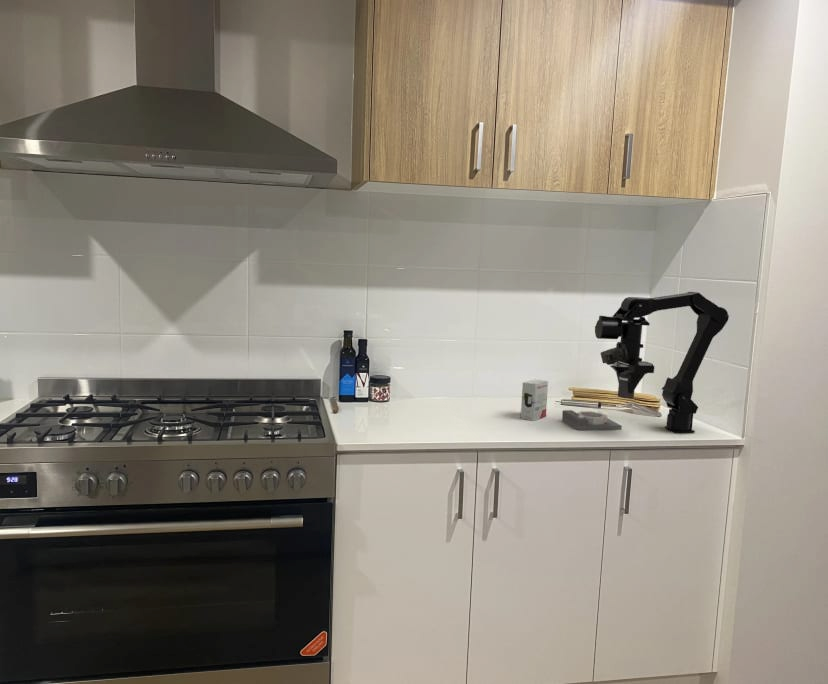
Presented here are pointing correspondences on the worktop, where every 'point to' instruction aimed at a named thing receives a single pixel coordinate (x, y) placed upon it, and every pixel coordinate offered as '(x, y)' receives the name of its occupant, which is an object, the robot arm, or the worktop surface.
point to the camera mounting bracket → (589, 420)
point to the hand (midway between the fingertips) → (626, 391)
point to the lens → (624, 386)
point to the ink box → (534, 399)
